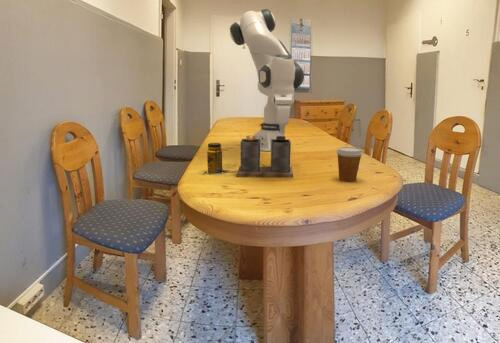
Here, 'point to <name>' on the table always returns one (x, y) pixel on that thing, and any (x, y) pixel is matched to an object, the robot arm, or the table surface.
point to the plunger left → (250, 138)
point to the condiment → (215, 159)
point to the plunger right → (280, 138)
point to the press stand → (278, 160)
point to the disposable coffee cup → (348, 163)
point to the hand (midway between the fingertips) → (281, 133)
